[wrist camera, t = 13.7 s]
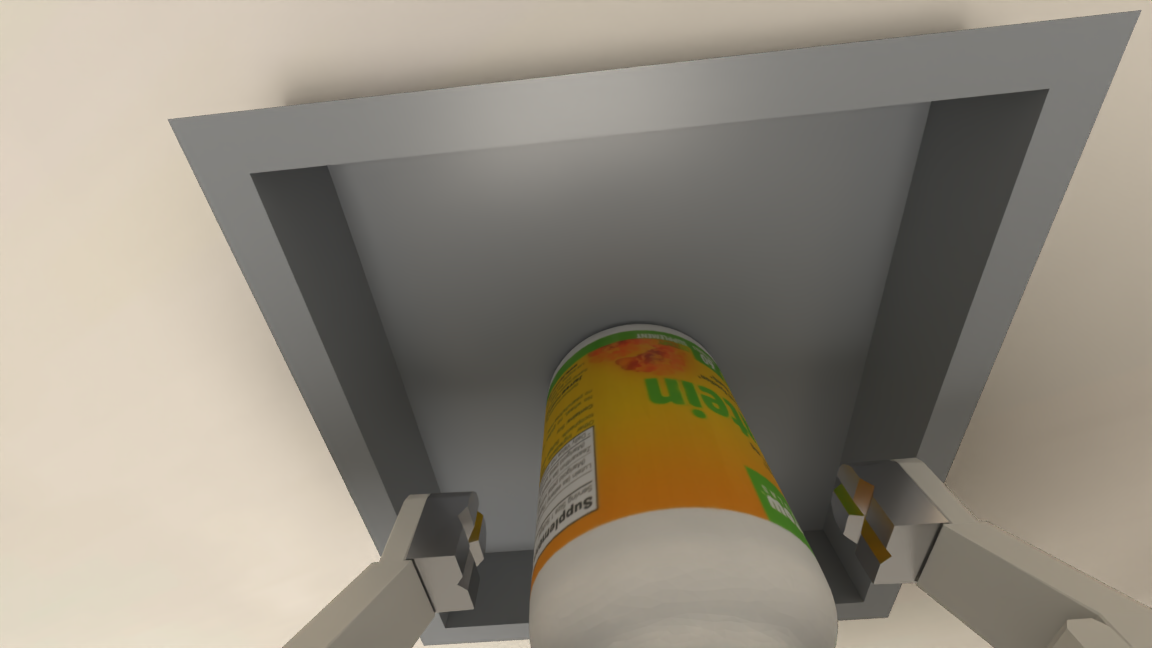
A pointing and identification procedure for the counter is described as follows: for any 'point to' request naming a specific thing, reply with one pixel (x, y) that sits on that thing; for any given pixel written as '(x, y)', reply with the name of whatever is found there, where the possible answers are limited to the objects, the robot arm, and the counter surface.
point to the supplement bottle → (664, 510)
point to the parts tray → (658, 259)
